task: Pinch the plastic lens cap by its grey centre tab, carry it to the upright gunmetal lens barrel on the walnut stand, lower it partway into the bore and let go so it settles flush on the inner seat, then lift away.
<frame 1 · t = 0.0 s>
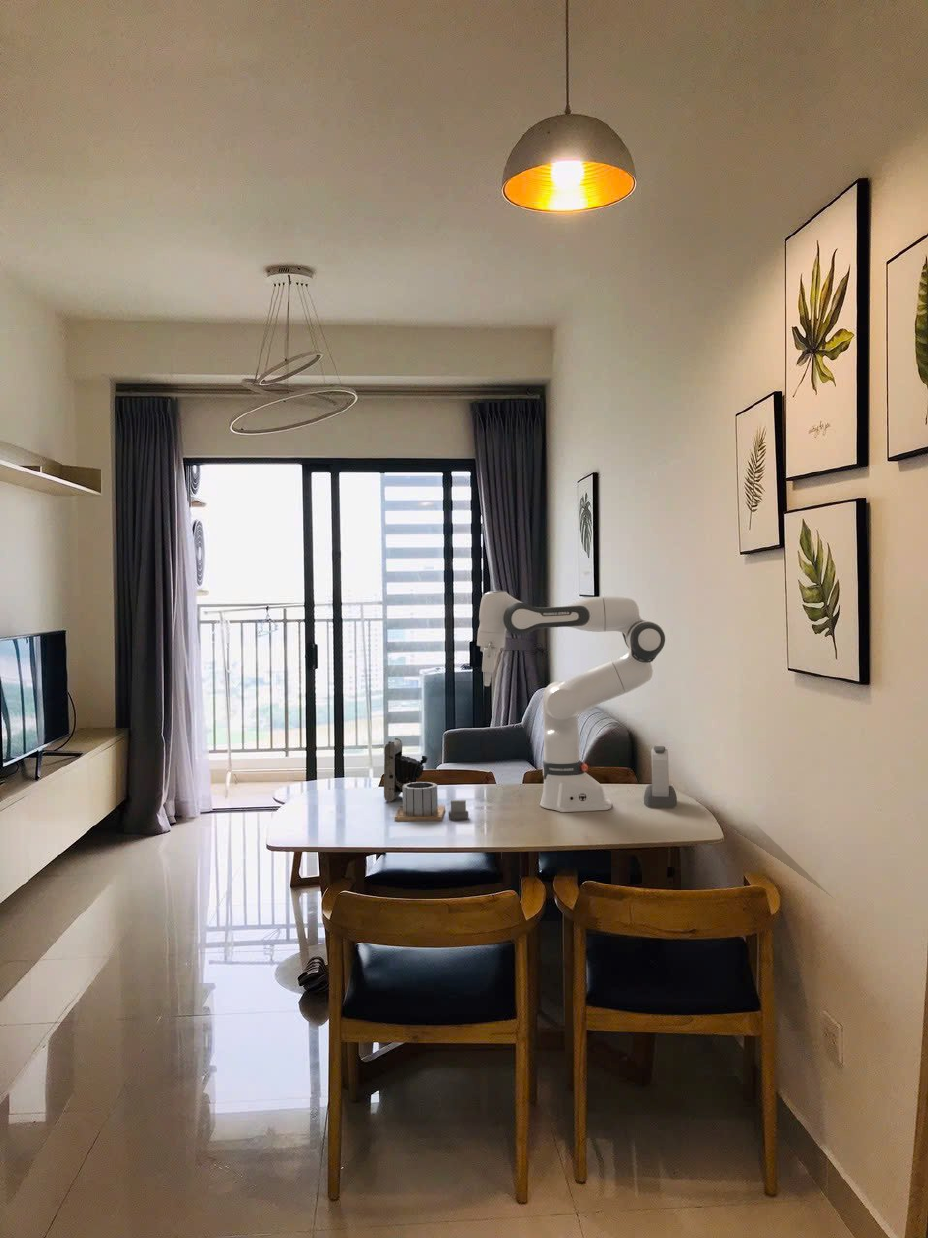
hand: (487, 684, 282), 39 cm above the table, fingers open, 8 cm apart
grey piece: (660, 804, 281), on the table
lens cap: (458, 818, 267), on the table
vintage camera: (410, 800, 294), on the table
lens barrel: (420, 815, 272), on the table
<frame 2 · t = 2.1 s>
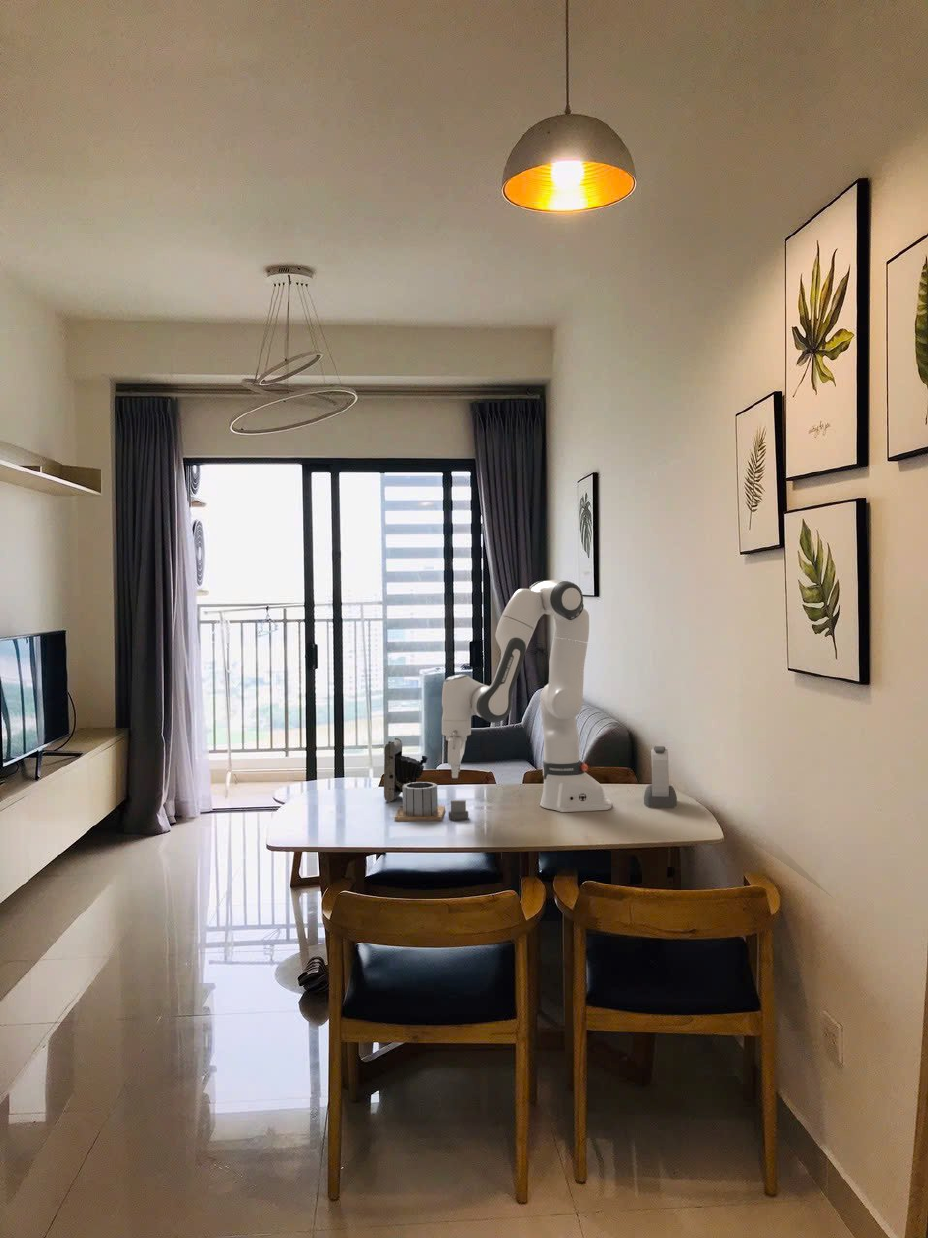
hand: (456, 774, 267), 13 cm above the table, fingers open, 8 cm apart
nothing on the table moved.
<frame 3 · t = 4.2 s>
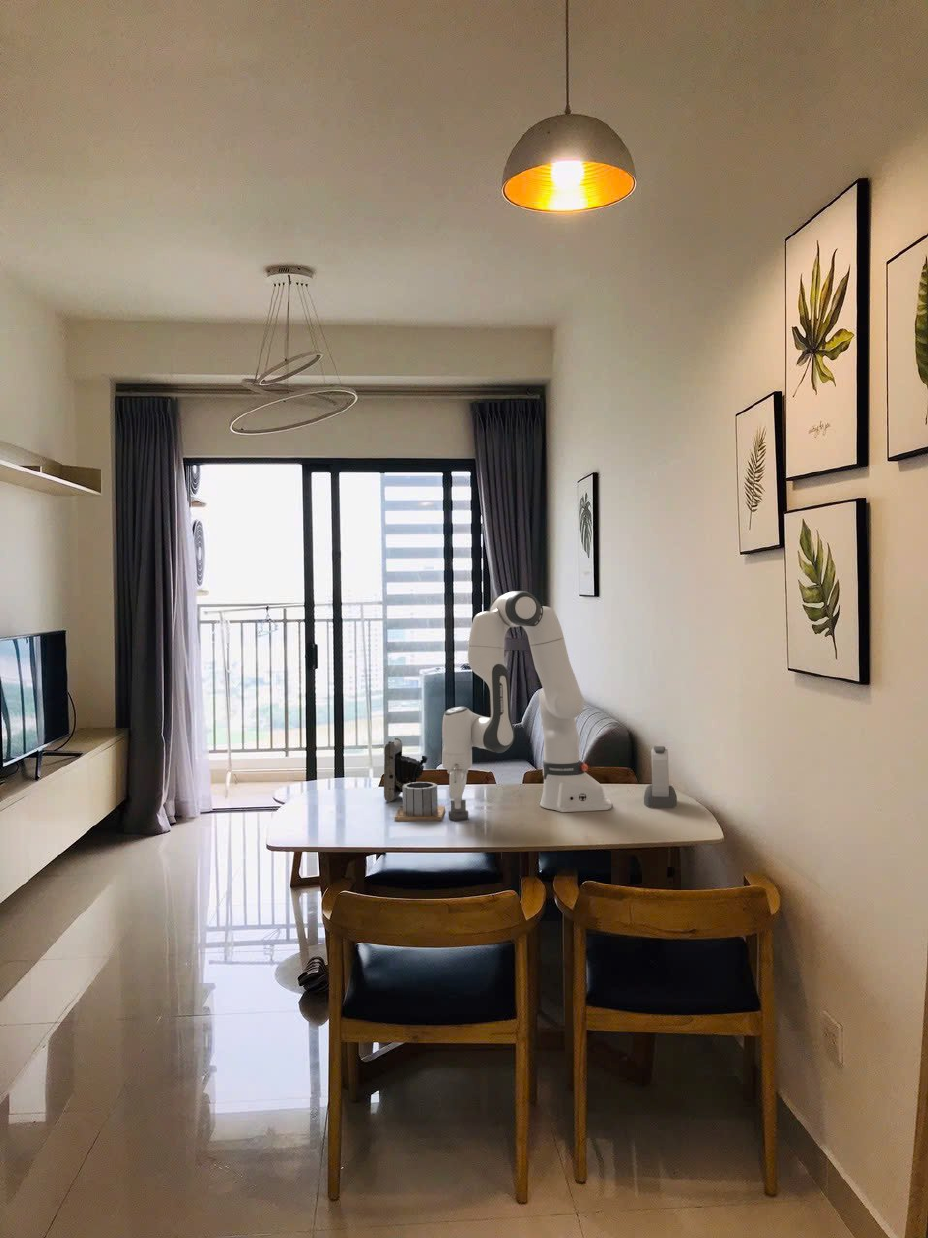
hand: (458, 807, 267), 3 cm above the table, fingers closed on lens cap
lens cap: (458, 818, 267), on the table, touching gripper
everything else where it was.
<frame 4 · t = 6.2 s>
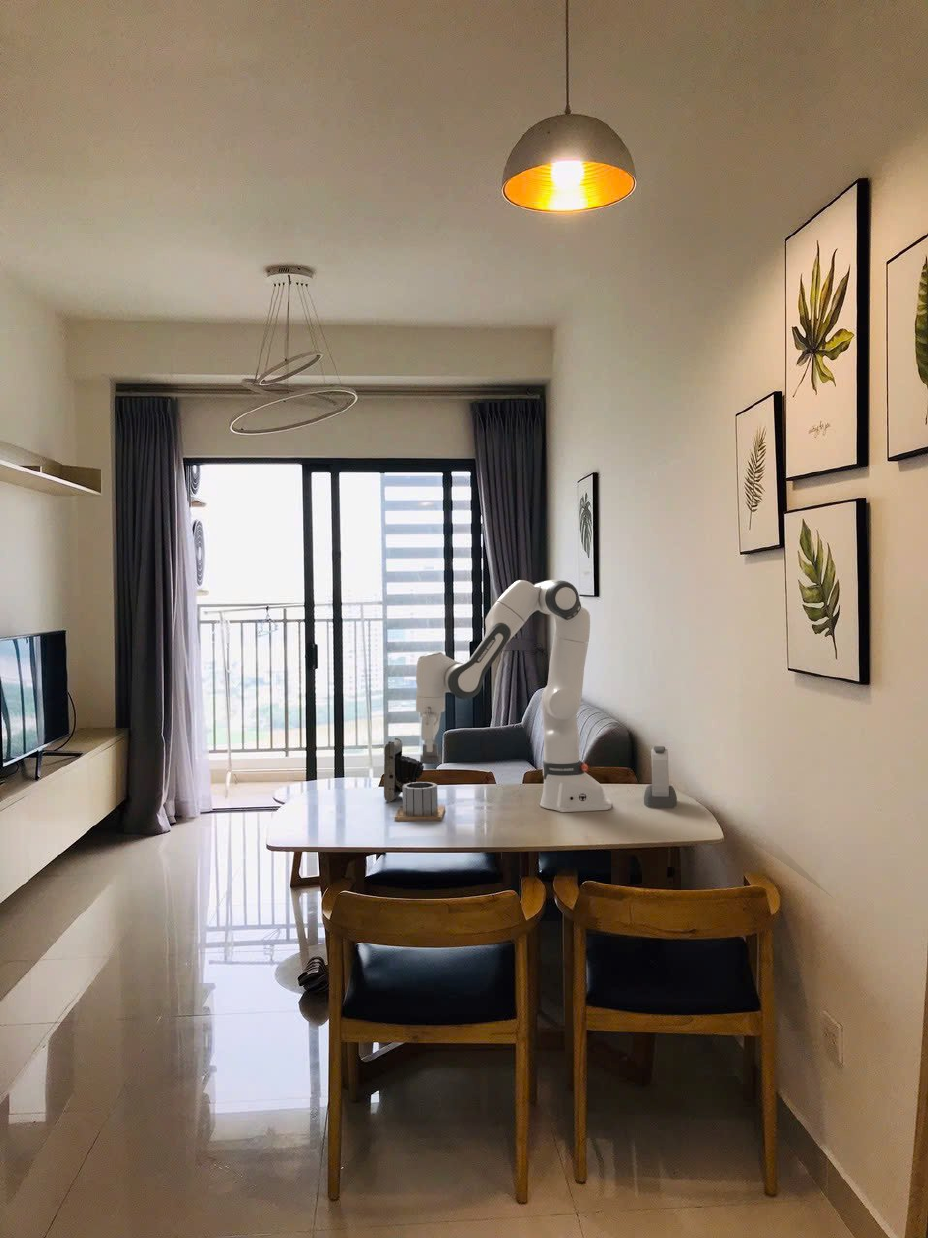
hand: (430, 750, 269), 20 cm above the table, fingers closed on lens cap
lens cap: (430, 762, 269), point 17 cm above the table, touching gripper
everything else where it was.
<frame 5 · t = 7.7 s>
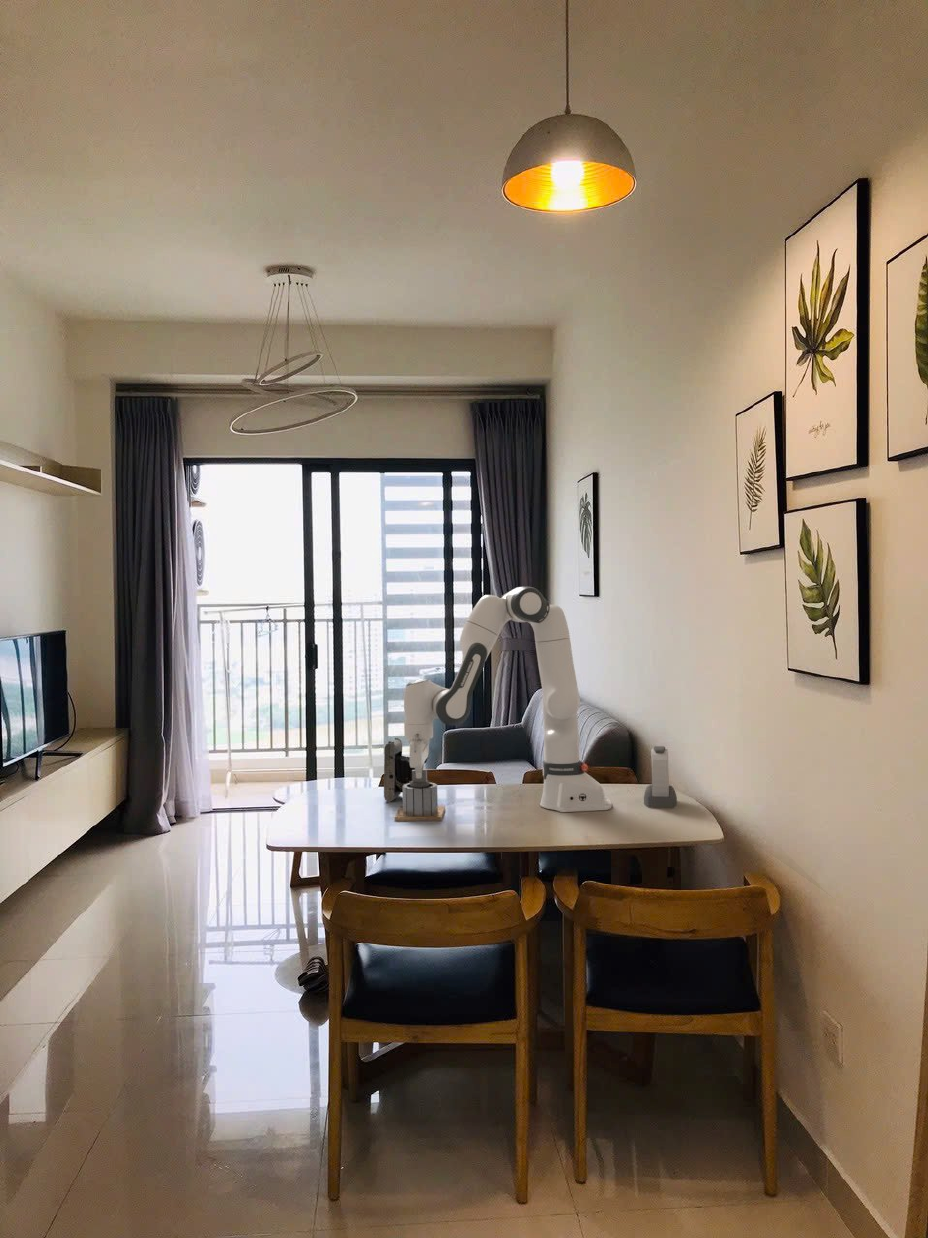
hand: (419, 777, 272), 12 cm above the table, fingers closed on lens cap
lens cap: (419, 788, 272), point 8 cm above the table, touching gripper
everything else where it was.
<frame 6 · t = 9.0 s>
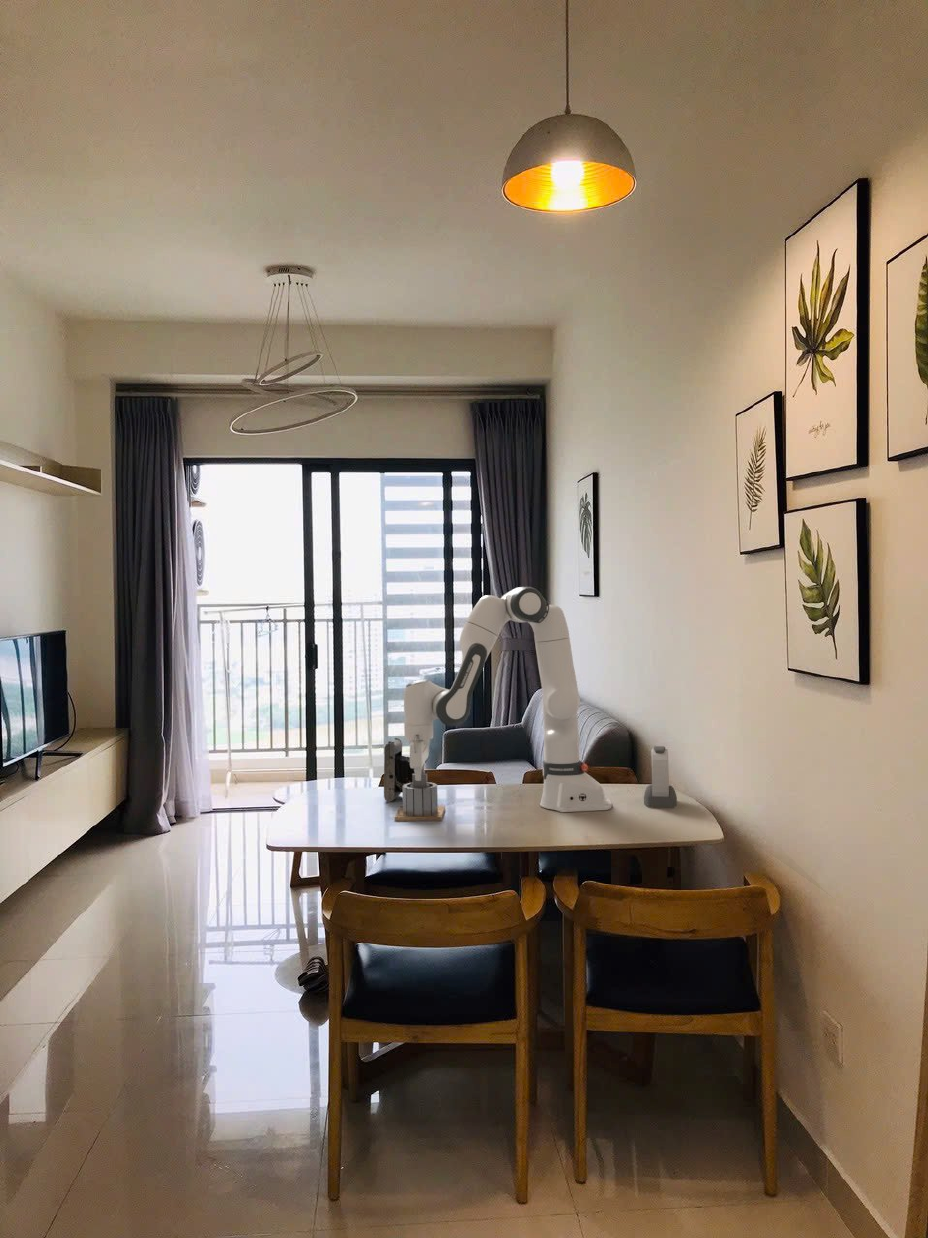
hand: (419, 777, 272), 12 cm above the table, fingers open, 6 cm apart
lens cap: (420, 792, 272), point 7 cm above the table, touching lens barrel
everything else where it was.
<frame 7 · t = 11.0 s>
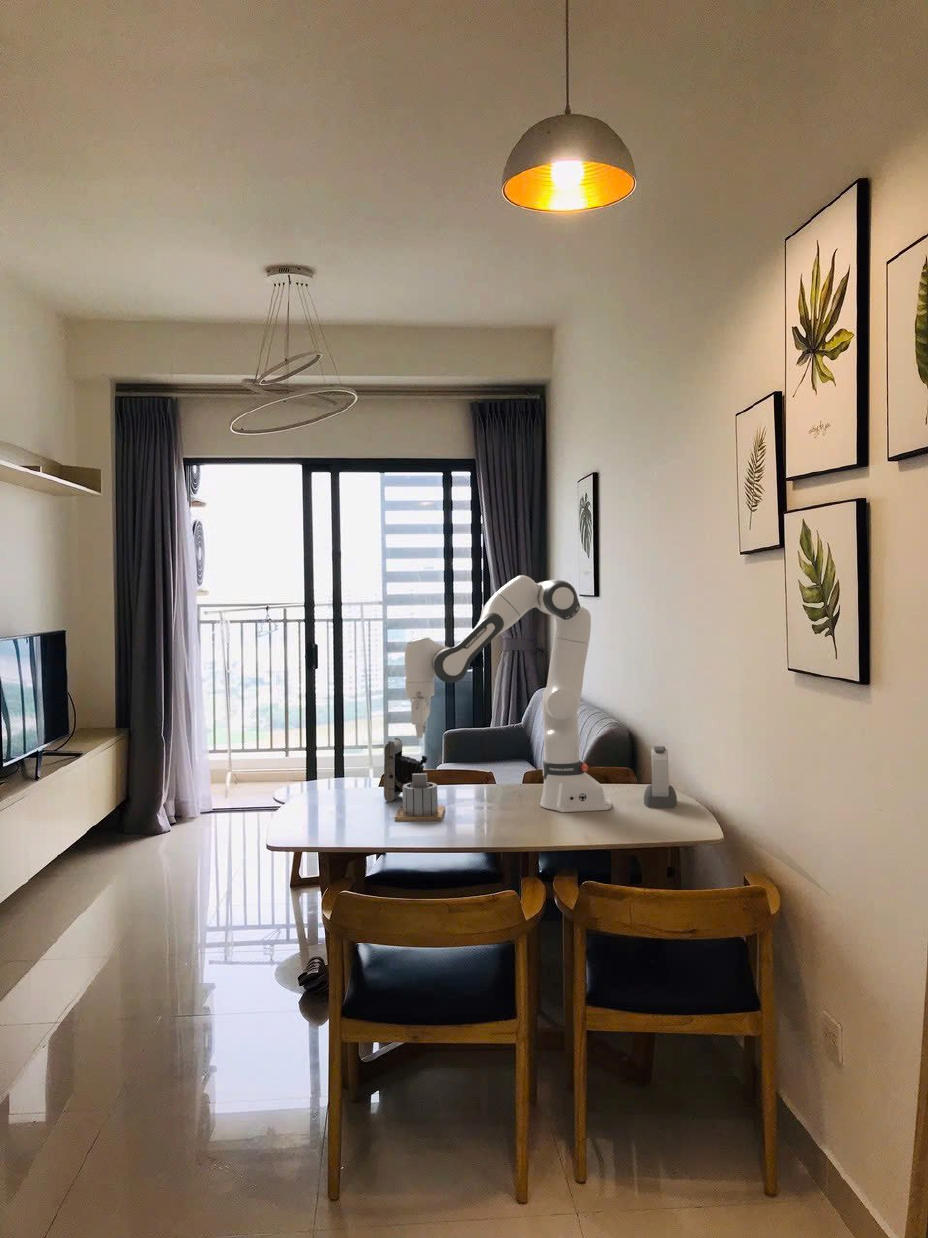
hand: (421, 735, 272), 24 cm above the table, fingers open, 8 cm apart
nothing on the table moved.
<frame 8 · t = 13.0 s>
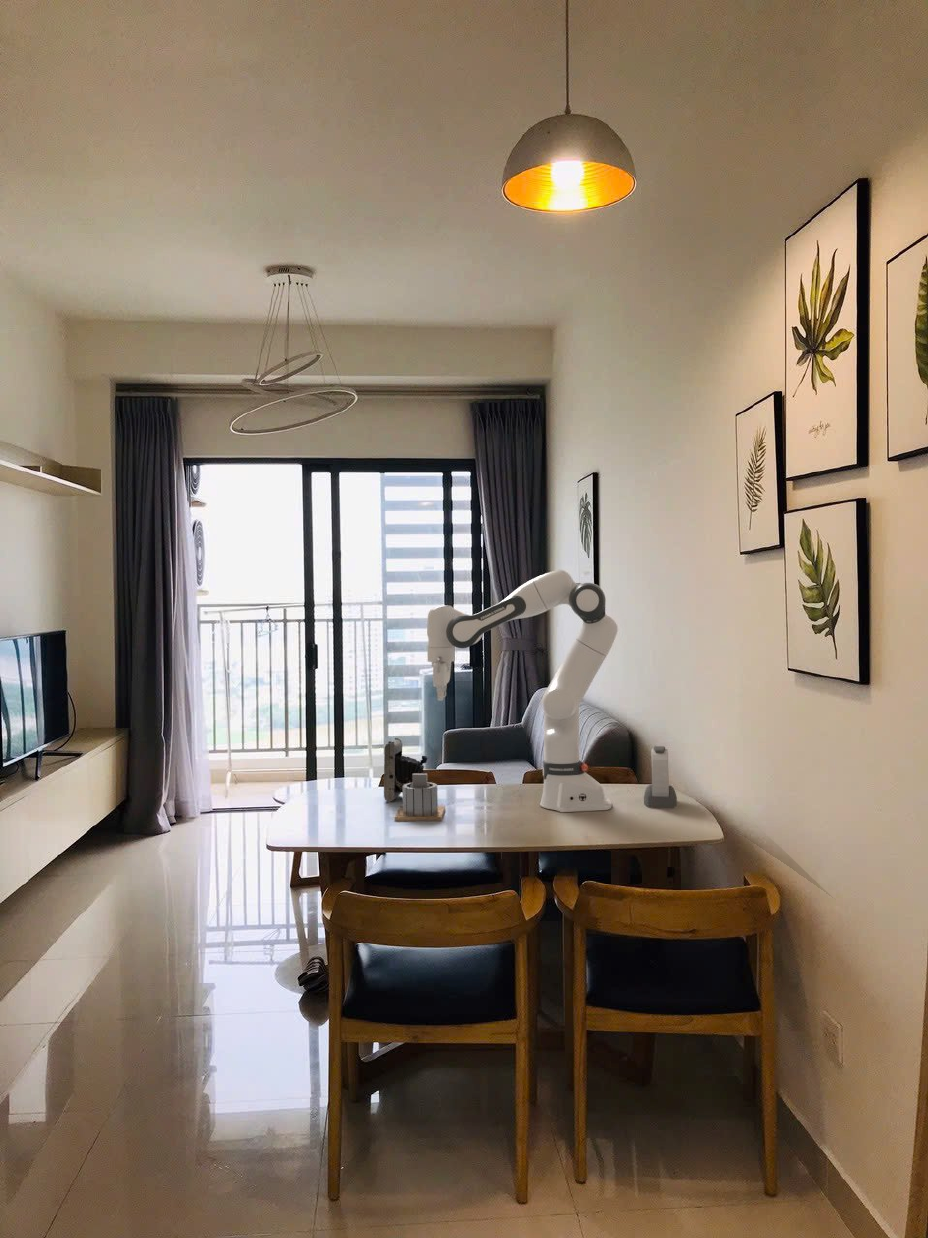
hand: (441, 698, 286), 34 cm above the table, fingers open, 8 cm apart
nothing on the table moved.
at the end: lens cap 0.0 cm off-centre on the lens barrel, point 7.2 cm above the lens barrel's base; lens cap tilted 0°; the gripper is holding nothing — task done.
